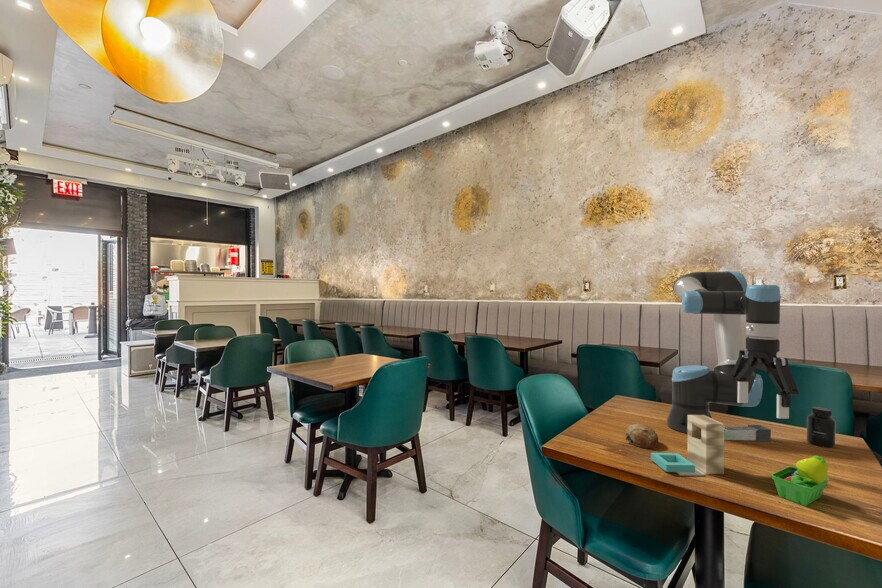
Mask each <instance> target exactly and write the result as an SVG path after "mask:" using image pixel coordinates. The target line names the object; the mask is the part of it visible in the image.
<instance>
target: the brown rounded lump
mask: <svg viewBox="0 0 882 588" xmlns="http://www.w3.org/2000/svg"><path fill="white" fill-rule="evenodd" d="M624 438H625V441H626V443H628V444H629V445H633V446H636V447H639V448H642V449H652V448H656V447H657V446H658V444H659V437H658V434H657V433H656V432H655V430H654V429H653V428H652V427H650V426H648V425H646V424H641V423H635V424H630V425H629V426H627V428H626V429H625V431H624Z"/></svg>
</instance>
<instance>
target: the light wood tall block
mask: <svg viewBox="0 0 882 588" xmlns="http://www.w3.org/2000/svg"><path fill="white" fill-rule="evenodd" d="M724 427H725V424H724V423H722V422H720V421H718V420H716V419H714V418H710V417H707V416H705V415H688V424H687V433H686V434H687V443H686V445H687V454H686V456H687V457H686V459H687V460H688V461H690V462H691V463H693V464H694V465H695V468H697V469H698V470H700V471H701V472H703V473H704V474H705V475H724V474H725V440H724Z"/></svg>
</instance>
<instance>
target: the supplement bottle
mask: <svg viewBox="0 0 882 588" xmlns="http://www.w3.org/2000/svg"><path fill="white" fill-rule="evenodd" d="M810 412H811V413H810V414H808V415H807V417H806V441H807V442H808V443H810V444H811V445H814V444H815V446H818V445H819V446H818V447H822V446H824V448H834V447H835V446H836V431H837V429H836V428H837V425H836V423H837V421H836V420H835V419H834V418H832V416H833V413H832V412H833V411H832V409H830V408H826V407H821V406H812V407H811V411H810Z"/></svg>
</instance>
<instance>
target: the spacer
mask: <svg viewBox="0 0 882 588" xmlns="http://www.w3.org/2000/svg"><path fill="white" fill-rule="evenodd" d="M650 460H651V461H652V462H654V463H655V464H656V465H657V466H658V467H660V468H661V469H662V470H664V472H666V473H676V472H695V468H696V467H695V465H694V464H693V463H691V462H690V461H688V460H687V458H685V457H684V456H682V455H681V454H680V453H678V452H650ZM669 462H676V463H669Z"/></svg>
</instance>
